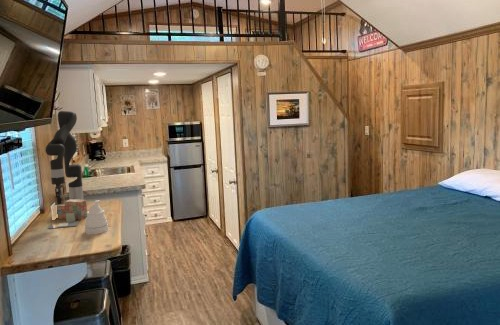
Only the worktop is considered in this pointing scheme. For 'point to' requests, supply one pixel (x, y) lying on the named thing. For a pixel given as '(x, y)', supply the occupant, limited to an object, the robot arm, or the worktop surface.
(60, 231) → the worktop surface
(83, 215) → the stack of blocks
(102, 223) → the white tiered cone
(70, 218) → the sage cube
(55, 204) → the walnut cube
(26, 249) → the worktop surface
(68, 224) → the slate board
